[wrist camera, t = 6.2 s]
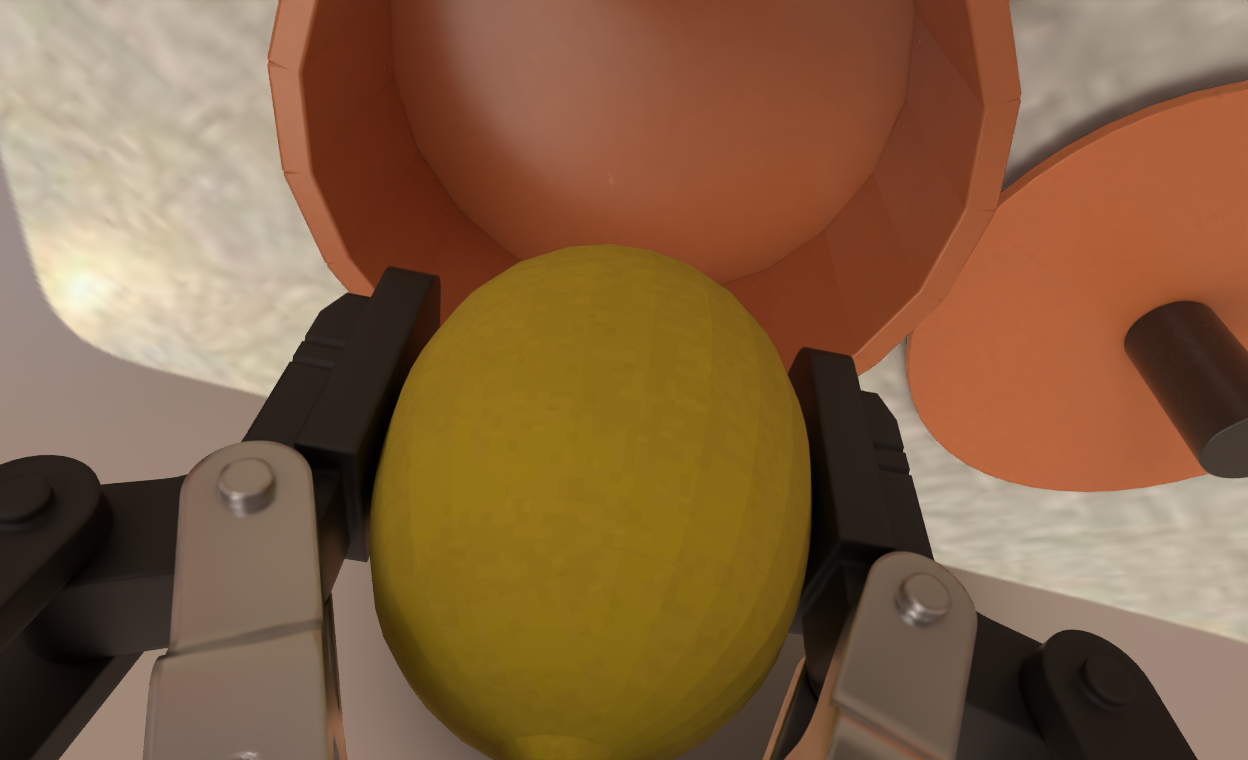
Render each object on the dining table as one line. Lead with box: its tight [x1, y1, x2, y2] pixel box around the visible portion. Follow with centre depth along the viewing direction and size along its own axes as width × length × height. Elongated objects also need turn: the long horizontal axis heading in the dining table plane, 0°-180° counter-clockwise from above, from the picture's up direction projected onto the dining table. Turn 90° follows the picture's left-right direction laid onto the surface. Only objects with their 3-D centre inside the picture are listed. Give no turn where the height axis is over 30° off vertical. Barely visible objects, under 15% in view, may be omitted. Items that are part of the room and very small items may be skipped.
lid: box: [905, 81, 1248, 492], centre depth 23 cm, size 16×16×6 cm
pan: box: [268, 0, 1021, 376], centre depth 19 cm, size 15×15×6 cm
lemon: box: [369, 244, 812, 760], centre depth 10 cm, size 6×6×8 cm
